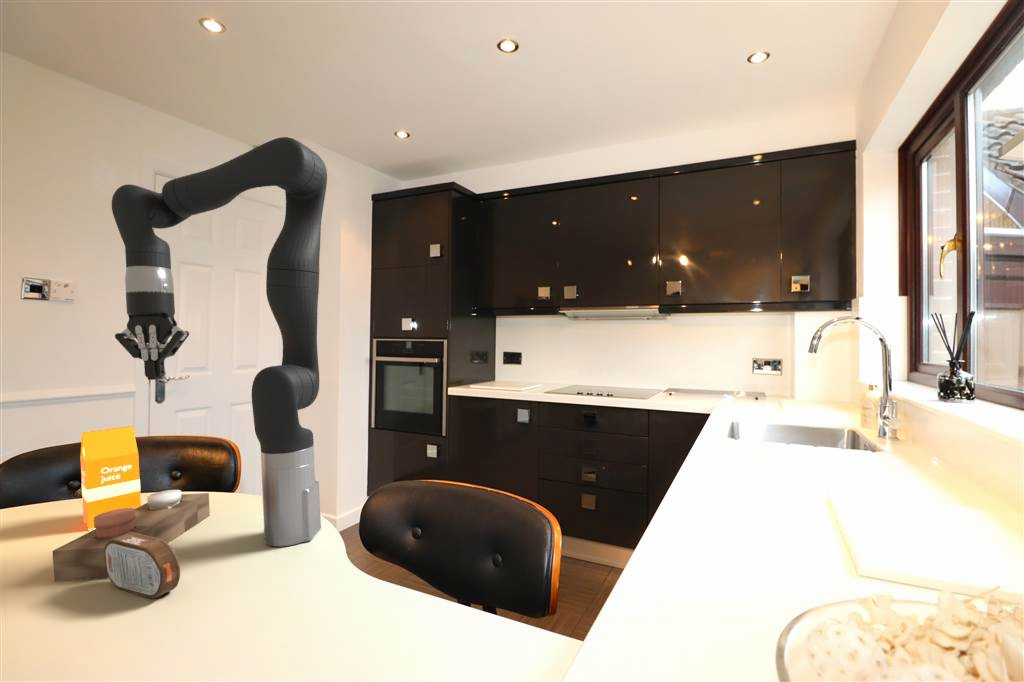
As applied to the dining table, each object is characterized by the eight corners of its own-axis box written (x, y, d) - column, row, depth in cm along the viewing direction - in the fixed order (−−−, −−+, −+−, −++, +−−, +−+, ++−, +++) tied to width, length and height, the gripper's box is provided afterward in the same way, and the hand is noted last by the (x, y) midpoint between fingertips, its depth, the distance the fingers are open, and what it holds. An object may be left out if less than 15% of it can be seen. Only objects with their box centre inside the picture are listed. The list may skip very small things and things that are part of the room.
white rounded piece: (188, 519, 99) (187, 488, 99) (171, 530, 93) (169, 498, 93) (161, 521, 99) (159, 490, 99) (141, 532, 93) (140, 499, 93)
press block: (209, 515, 103) (208, 493, 103) (118, 576, 77) (117, 546, 77) (162, 518, 102) (161, 495, 102) (54, 581, 76) (52, 550, 76)
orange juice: (142, 517, 103) (137, 427, 103) (88, 531, 97) (83, 434, 96) (134, 509, 108) (130, 423, 108) (83, 522, 102) (78, 430, 101)
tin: (183, 594, 71) (180, 539, 71) (160, 606, 68) (158, 549, 68) (123, 577, 77) (121, 527, 77) (100, 587, 74) (98, 535, 74)
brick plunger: (144, 542, 86) (142, 507, 86) (121, 556, 80) (119, 519, 80) (112, 544, 86) (110, 508, 86) (86, 558, 80) (84, 521, 80)
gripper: (197, 292, 96) (201, 376, 96) (128, 294, 95) (133, 379, 95) (173, 288, 89) (178, 379, 89) (99, 290, 88) (104, 383, 88)
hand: (155, 379), depth 92 cm, fingers closed
